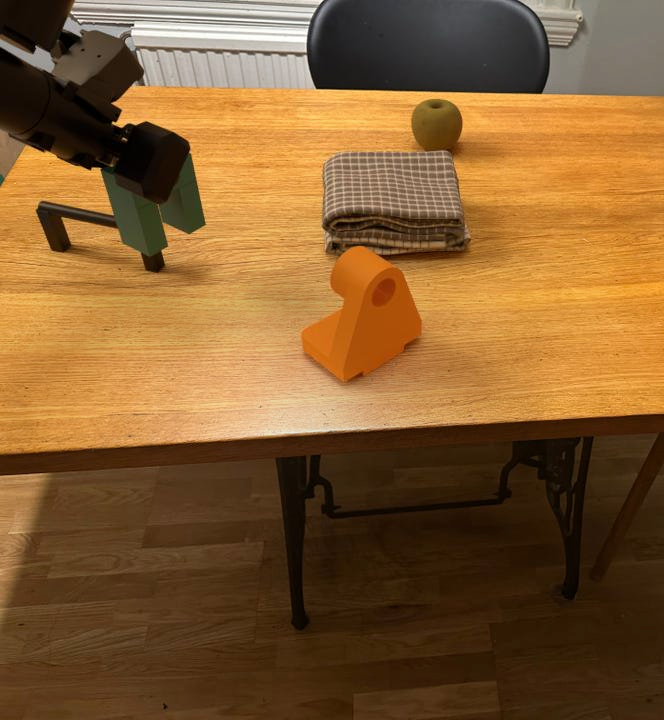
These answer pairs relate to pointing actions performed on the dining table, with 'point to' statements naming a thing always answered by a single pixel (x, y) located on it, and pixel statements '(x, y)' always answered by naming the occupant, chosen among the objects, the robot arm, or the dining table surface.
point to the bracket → (364, 316)
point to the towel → (392, 203)
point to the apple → (436, 124)
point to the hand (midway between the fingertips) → (162, 173)
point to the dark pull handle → (57, 231)
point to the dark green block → (155, 211)
